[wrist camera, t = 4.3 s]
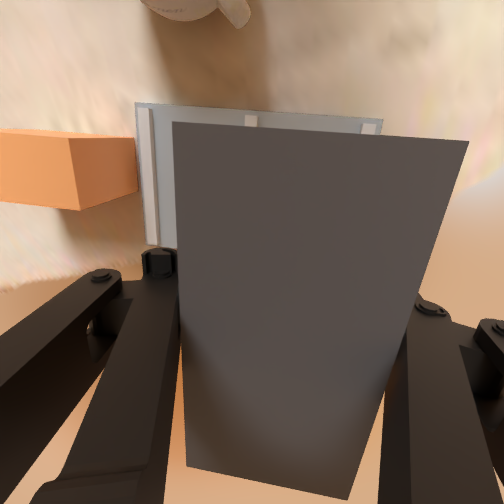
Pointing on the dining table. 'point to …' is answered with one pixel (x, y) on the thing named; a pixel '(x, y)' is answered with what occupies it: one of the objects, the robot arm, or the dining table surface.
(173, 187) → the grey flat panel
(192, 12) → the teacup
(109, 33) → the dining table surface
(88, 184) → the terracotta block
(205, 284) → the grey rectangular block
